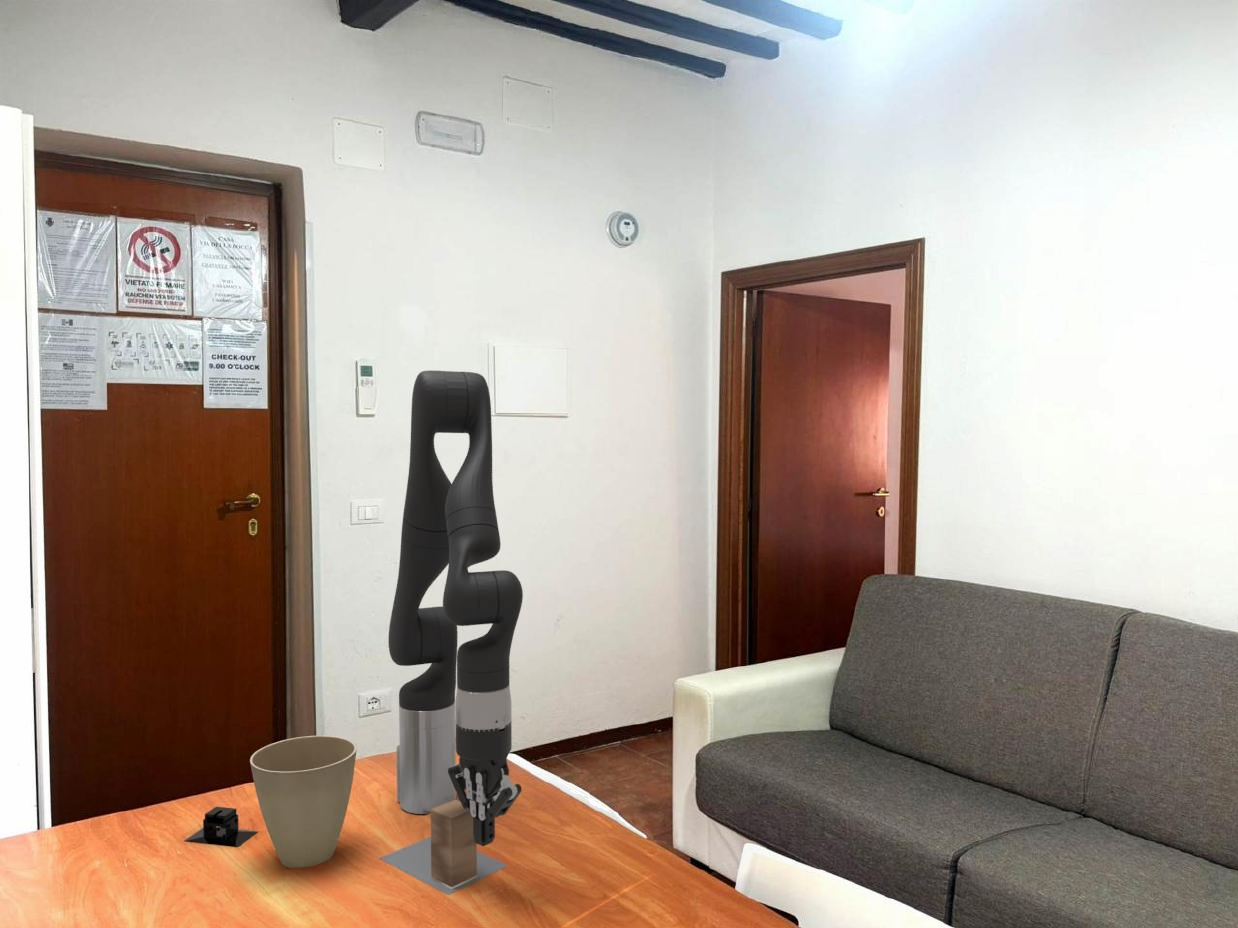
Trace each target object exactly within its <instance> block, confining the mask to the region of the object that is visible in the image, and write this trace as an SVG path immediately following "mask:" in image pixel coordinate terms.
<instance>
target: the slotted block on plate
mask: <svg viewBox="0 0 1238 928" xmlns="http://www.w3.org/2000/svg"><path fill="white" fill-rule="evenodd" d="M202 822H203V823H202V828H201V829H199V830H197V831H196V832H195V833H193V834H192V835H190V836H189V837H188V838H186V839H185V840H183V842H185V843H195V844H201V845H202V844H204V845H212V846H213V845H214V846H219V847H221V846H222V847H229V848H230V847H231V848H239V847H241V846H242V845H243V844H245V843H247V841H249V840H250V839H251V838H253V837H255V835H257V834H258V833H259V831H256V830H249V829H239V814H237V808H233V807H224V806H222V807H221V806H215V807H213V808H211V809H210V810H209V811H207V812H205V814H204V818H203V820H202Z"/></svg>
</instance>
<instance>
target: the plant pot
mask: <svg viewBox="0 0 1238 928" xmlns="http://www.w3.org/2000/svg"><path fill="white" fill-rule="evenodd" d="M356 756H357V744H356V743H355V742H354V741H352V740H351V739H348V738H345V737H341V736H337V735H308V736H307V735H306V736H298V737H293V738H287V739H283V740H280V741H277V742H274V743H270V744H267V745H265V746H264V747H261V748H260V749H258V750H256V751H255V752H254V753H253V754H252V755H251V756H250V759H249V763H250V768H251V773H252V778H253V779H252V780H253V785H254V788H255V794H256V797H257V802H258V804H259V809H260V811H261V815H262V818H263V821H264V825H265V827H266V829H267V832H268V835H269V838H270V840H271V843H272V845H273V848H274V850H275V852H276V854H277V856H278V858H279V861H280V863H281V864H282V865H283V866H284V867H285V868H289V869H293V868H308V867H313V866H317V865H321V864H323V863H325V862H327V861H329V860H330V859H331V858H332V857H333V855H334V854H335V851H336V847H337V845H338V843H339V842H338V841H339V838H340V836H341V832H342V830H343V826H344V822H345V819H346V814H347V810H348V806H349V801H350V797H351V792H352V787H353V781H354V775H355V765H356Z"/></svg>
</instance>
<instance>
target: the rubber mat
mask: <svg viewBox="0 0 1238 928" xmlns="http://www.w3.org/2000/svg"><path fill="white" fill-rule="evenodd" d="M378 859H379V860H381V861H383V862H384V863H386V864H388V865H390V866H392V867H394V868H396V869H398V870H399V871H402V872H403V873H406V874H407V875H409V876H412V878H415V879H416V880H418V881H421V882H423V883H425V884H427V885H429V886H430V887H432V888H434V889H436V890H438V891H440V892H442V893H443V894H445V895H448V896H449V895H451V894H453V893H455V892H457V891H459V890H462V889H463V888H466V887H467V886H470V885H472V884H473V883H476V882H478V881H480V880H482V879H484V878H486V877H488V876H490V875H492V874H495V873H497V872H499V871H501V870H503V869H505V868H507V867H509V865H507V864H505V863H503V862H501V861H499V860H498V859H495V858H492V857H490V856H488V855H487V854H484V853H482V852H480V851H477V878H474V879H472V880H470V881H468V882H466V883H464V884H462V885H460V886H458V887H456V888H454V889H450V888H448V887H446V886H444V885H442V884H440V883H438V882H437V881H435V880H433V879H431V836H429V837H426V838H423V839H422V840H420V841H417V842H415V843H412V844H409V845H407V846H405V847H403V848H400V849H398V850H395V851H392V852H391V853H389V854H388V853H387V854H386V855H383V856H380V857H379V858H378Z"/></svg>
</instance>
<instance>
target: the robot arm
mask: <svg viewBox="0 0 1238 928" xmlns="http://www.w3.org/2000/svg"><path fill="white" fill-rule="evenodd" d="M410 412H411V415H410V416H411V417H410V418H411V419H410V445H409V447H410V448H409V465H408V466H409V467H408V475H407V485H406V492H405V493H406V494H405V499H404V506H403V507H404V509H403V513H402V524H401V532H400V533H401V534H400V535H401V538H400V553H399V564H398V574H397V575H398V576H397V583H396V587H395V592H394V593H395V594H394V599H393V603H392V604H393V605H392V610H391V616H390V620H389V626H388V627H389V628H388V651H389V655H390V658H391V660H392V662H393V663H395V664H396V665H397V666H403V667H405V666H406V667H410V666H411V667H412V666H419V665H428V664H430V666H429V667H428V668H427V669H426V670H425V671H423V673H421V674H420V675H419V676H417V677H415V678H413V679H411V680H410V681H408V682H406V683H404V684H403V685H402V686H401V687H400V689H399V692H398V693H399V694H398V711H399V712H398V724H399V731H398V733H399V745H397V746H396V801H397V802H398V803H399V806H400V808H401V810H403V811H405V812H407V813H410V814H417V815H429V814H430V815H431V809H433V808H435V807H438V806H441V805H443V804H446V803H448V802H451V801H453V800H457V799H456V797H458V800H459V801H460V802H461V804H462V806H463V808H464V809H466V808H468V809H469V810H470V813H471V815H472V816H473V829H474V830H473V835H474V841H475V843H477V845H479V846H481V847H485V846H488V845H489V844H492V843H493V842H494V840H495V837H496V836H495V835H496V827H495V826H496V823H495V822H496V821H495V820H496V818H498V817H500V816H504V815H506V814H507V813H508V812H509V810H510V808H511V807H512V805H513V804H514V803H515V801H516V799H518V797H519V796H520V794H521V793H522V786H521V785H520V784H519V783H516V784H514V783H513V781H512V780H511V779H510V777H509V775H510V768H509V766H508V760H507V758H508V756H509V754H510V752H511V751H512V745H513V744H512V739H513V738H512V734H513V733H512V727H513V726H512V695H511V690H510V689H511V688H510V687H511V686H510V657H511V655H510V654H511V649H512V645H513V639H514V633H515V630H516V627H517V623H518V619H519V616H520V613H521V609H522V605H523V599H524V598H523V597H524V596H523V595H524V593H523V586H522V583H521V581H520V580H519V578H518V576H517V575H516V574H515V573H514V572H512V571H510V570H504V569H503V570H489V571H469V570H468V568H469V567H471V566H473V565H477V564H481V563H484V562H487V561H488V560H491V559H493V558H495V557H496V556H497V555H498V553H499V552H500V550H501V536H500V535H501V534H500V530H499V523H498V517H497V512H496V504H495V498H494V487H493V485H494V484H493V483H494V482H493V434H492V433H493V432H492V431H493V427H492V424H493V423H492V403H491V394H490V389H489V385H488V383H487V380H486V379H485V377H484V376H483V375H482V374H481V373H478V372H471V371H452V370H451V371H450V370H449V371H448V370H423V371H421V372H419V373H418V374H417V376H416V378H415V381H414V384H413V390H412V398H411V411H410ZM439 433H440V434H468V439H469V440H468V441H469V442H468V443H469V444H468V450H467V453H466V456H465V458H464V460H463V463H462V464H461V466H460V468H459V471H458V472H457V473H456V475H455V477H454V479H453V481H452V482H451V480H450V479H449V478H448V476H447V474H446V472H445V470H444V468H443V467H442V465H441V462H440V460H439V458H438V455H437V453H436V450H435V449H436V448H435V435H436V434H439ZM446 567H448V569H447V574H446V580H445V584H444V585H445V586H444V589H443V595H442V606H432V607H421V608H420V606H421V603H422V601H423V599H424V596H425V594H426V593H427V591H429V588H430V587H431V586H432V584H434V582H435V581H436V580H437V578H438V577H439V576H440V575H442V573H443V572H444V570H445V569H446ZM490 624H491V627H490V628H489V630H488V631H487V633H486V634H483V635H481V636H480V637H477V638H474V639H471V640H468V641H465V642H463V643H462V644H461V645H459V646H458V627H464V626H465V627H467V626H478V625H480V626H481V625H490ZM456 755H458V757H459V759H458V762H459V763H456Z"/></svg>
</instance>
